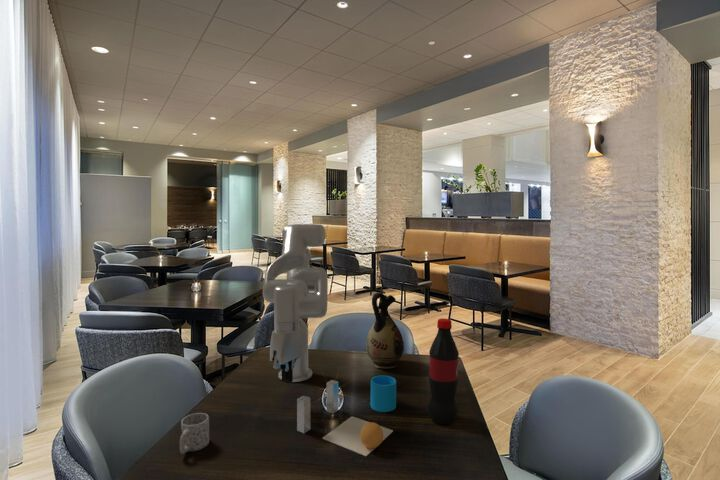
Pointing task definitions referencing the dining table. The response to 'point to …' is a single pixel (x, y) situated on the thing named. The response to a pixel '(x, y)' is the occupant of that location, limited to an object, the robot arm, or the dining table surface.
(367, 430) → the ball
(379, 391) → the mug
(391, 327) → the ceramic jug
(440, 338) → the cola bottle
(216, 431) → the dining table surface
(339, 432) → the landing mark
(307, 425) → the post
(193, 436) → the mug
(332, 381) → the post
